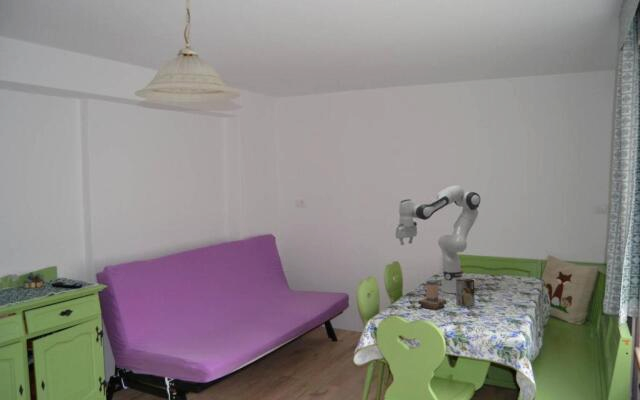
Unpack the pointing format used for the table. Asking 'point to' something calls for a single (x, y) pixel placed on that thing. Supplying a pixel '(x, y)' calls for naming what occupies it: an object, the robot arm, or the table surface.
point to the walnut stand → (432, 304)
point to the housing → (432, 290)
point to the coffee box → (465, 292)
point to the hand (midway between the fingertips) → (406, 244)
